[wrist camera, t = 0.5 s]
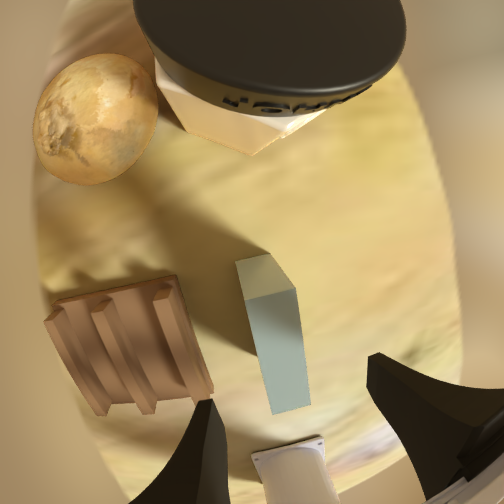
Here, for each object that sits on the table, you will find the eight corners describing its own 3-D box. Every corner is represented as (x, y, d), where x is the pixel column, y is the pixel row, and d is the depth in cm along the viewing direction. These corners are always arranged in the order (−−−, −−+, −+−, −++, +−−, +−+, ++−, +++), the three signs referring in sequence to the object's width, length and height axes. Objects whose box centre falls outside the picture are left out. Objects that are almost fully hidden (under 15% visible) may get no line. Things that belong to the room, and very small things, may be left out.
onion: (57, 99, 14) (1, 75, 7) (155, 57, 15) (129, 4, 8) (74, 199, 16) (13, 212, 10) (179, 161, 17) (155, 150, 10)
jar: (225, 180, 17) (242, 177, 6) (151, 89, 15) (75, -12, 4) (330, 106, 17) (452, 43, 5) (258, 23, 15) (301, -96, 3)
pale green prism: (287, 349, 21) (310, 404, 15) (257, 356, 21) (272, 414, 15) (269, 253, 19) (295, 287, 13) (235, 260, 19) (244, 300, 13)
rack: (213, 385, 21) (214, 410, 18) (106, 397, 20) (97, 419, 18) (176, 274, 19) (169, 291, 16) (57, 300, 18) (39, 316, 15)
